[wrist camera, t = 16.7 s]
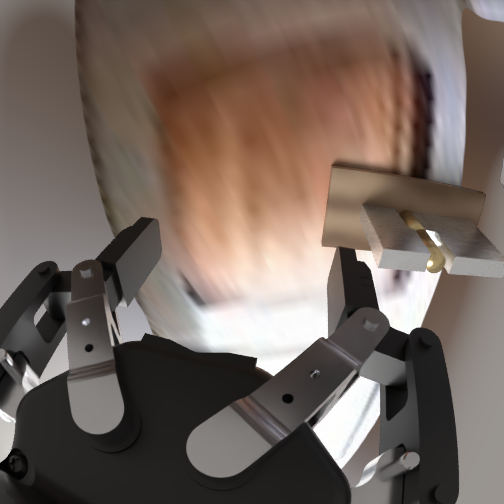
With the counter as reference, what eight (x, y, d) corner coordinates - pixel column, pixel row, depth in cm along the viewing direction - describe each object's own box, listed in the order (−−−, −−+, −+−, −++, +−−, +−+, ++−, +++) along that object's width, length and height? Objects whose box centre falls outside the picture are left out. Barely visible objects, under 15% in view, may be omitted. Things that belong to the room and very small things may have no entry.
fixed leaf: (399, 208, 38) (430, 253, 28) (471, 220, 37) (509, 261, 26) (395, 225, 39) (423, 272, 29) (466, 234, 38) (502, 278, 28)
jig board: (331, 165, 38) (332, 167, 37) (482, 192, 35) (486, 194, 34) (321, 242, 44) (322, 246, 43) (461, 256, 41) (464, 260, 40)
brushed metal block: (359, 220, 40) (377, 268, 30) (362, 203, 39) (383, 248, 29) (411, 226, 39) (441, 273, 29) (415, 211, 38) (448, 254, 28)
